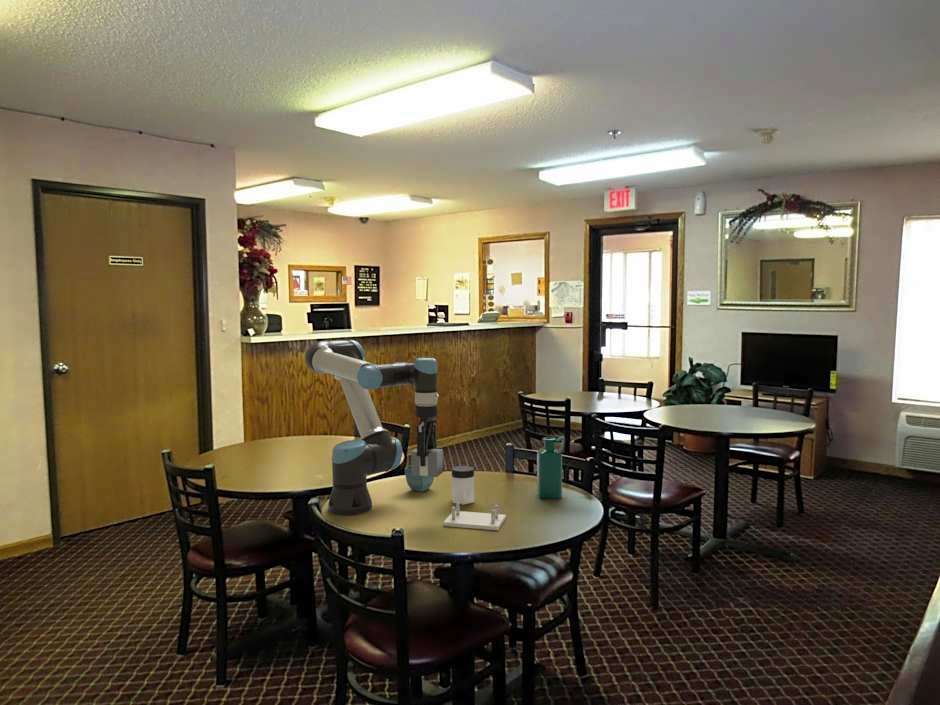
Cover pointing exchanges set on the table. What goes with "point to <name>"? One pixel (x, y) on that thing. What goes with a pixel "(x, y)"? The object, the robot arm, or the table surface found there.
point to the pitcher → (550, 469)
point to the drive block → (433, 462)
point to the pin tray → (475, 519)
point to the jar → (463, 484)
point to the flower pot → (418, 481)
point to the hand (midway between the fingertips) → (427, 472)
